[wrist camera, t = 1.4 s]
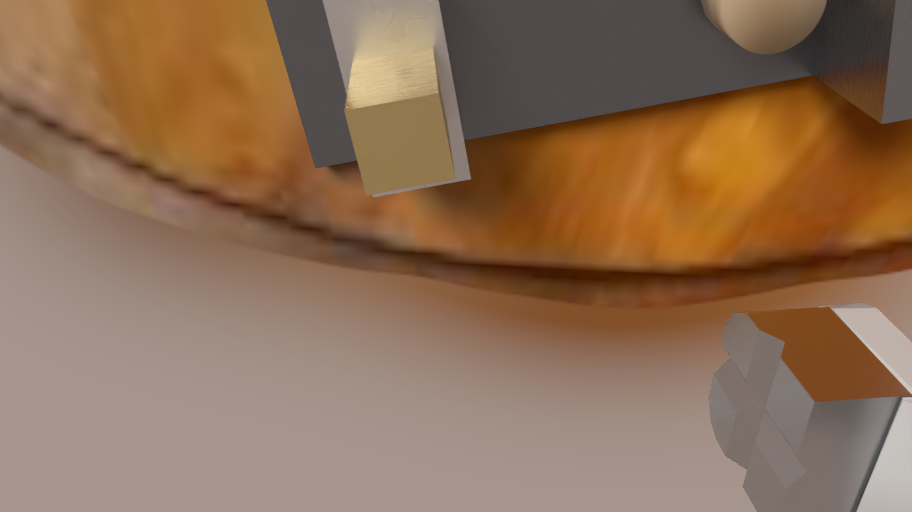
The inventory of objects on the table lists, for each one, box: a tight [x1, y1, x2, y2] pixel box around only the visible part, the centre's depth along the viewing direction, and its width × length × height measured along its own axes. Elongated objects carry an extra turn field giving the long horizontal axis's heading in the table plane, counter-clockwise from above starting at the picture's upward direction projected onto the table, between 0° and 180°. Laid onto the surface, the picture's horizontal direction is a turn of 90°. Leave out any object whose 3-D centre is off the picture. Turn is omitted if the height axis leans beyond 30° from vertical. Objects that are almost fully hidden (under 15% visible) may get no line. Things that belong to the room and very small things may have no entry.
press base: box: [266, 0, 912, 168], centre depth 32 cm, size 26×9×8 cm, turn 100°
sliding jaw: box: [323, 0, 471, 197], centre depth 30 cm, size 4×8×10 cm, turn 10°
